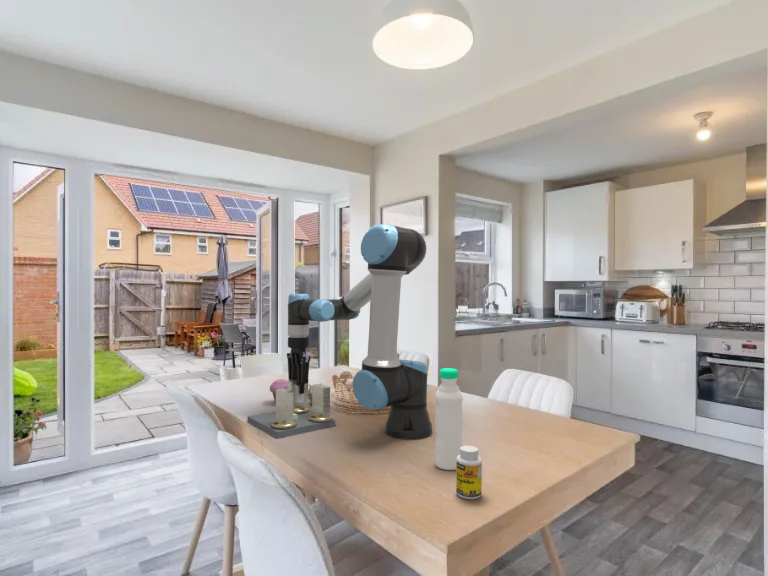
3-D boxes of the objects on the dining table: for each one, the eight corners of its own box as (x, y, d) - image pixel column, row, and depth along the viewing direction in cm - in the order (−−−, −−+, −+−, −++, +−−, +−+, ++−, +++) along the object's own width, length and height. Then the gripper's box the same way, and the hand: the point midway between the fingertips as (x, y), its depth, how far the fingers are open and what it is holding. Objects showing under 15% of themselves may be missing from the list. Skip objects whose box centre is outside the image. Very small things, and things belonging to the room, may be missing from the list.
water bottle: (429, 465, 114) (429, 368, 115) (446, 458, 119) (446, 365, 120) (451, 473, 109) (451, 372, 110) (468, 466, 114) (468, 369, 115)
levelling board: (335, 425, 149) (335, 414, 149) (277, 438, 135) (277, 425, 135) (301, 411, 166) (301, 401, 166) (247, 421, 153) (247, 410, 153)
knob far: (302, 406, 165) (302, 377, 165) (313, 411, 159) (313, 380, 159) (282, 410, 160) (282, 379, 160) (293, 414, 154) (293, 383, 154)
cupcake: (272, 407, 172) (272, 382, 172) (267, 403, 180) (267, 378, 180) (295, 405, 176) (295, 380, 176) (289, 400, 184) (289, 376, 184)
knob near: (301, 425, 141) (301, 391, 141) (278, 430, 136) (278, 394, 136) (289, 420, 147) (289, 386, 147) (267, 424, 142) (267, 390, 142)
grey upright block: (337, 419, 149) (337, 386, 149) (316, 423, 143) (317, 389, 144) (324, 414, 155) (324, 382, 155) (304, 418, 150) (304, 385, 150)
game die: (319, 414, 177) (325, 397, 171) (300, 406, 177) (305, 389, 172) (327, 398, 184) (332, 382, 179) (308, 391, 185) (313, 374, 179)
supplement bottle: (451, 496, 97) (451, 449, 97) (462, 487, 102) (462, 442, 102) (475, 503, 94) (475, 454, 94) (485, 493, 98) (485, 447, 99)
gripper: (318, 337, 156) (318, 404, 156) (297, 334, 168) (296, 396, 168) (299, 338, 151) (299, 407, 151) (278, 335, 163) (278, 399, 163)
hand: (297, 401), depth 159 cm, fingers closed on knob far, 3 cm apart
